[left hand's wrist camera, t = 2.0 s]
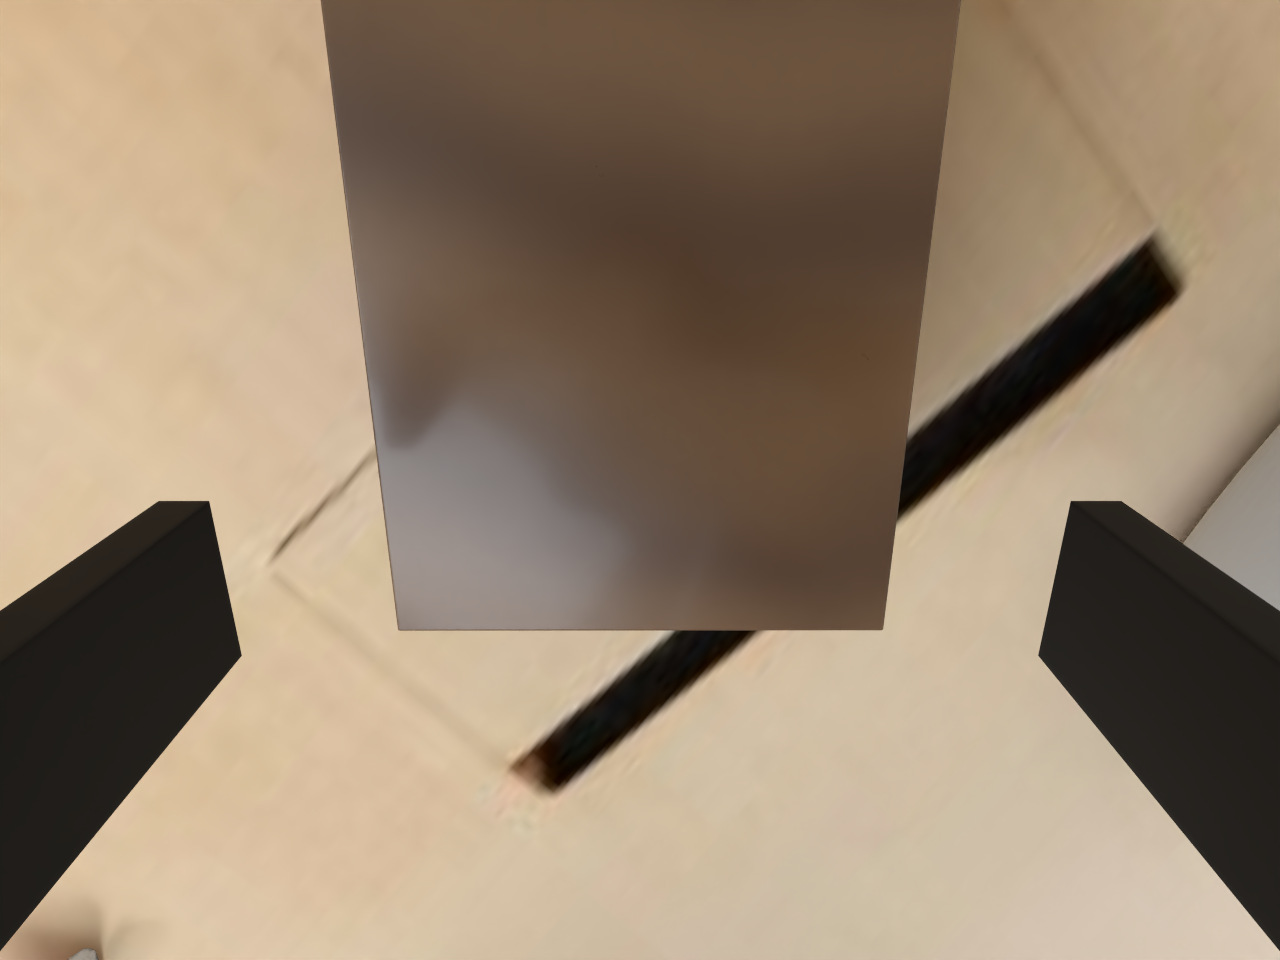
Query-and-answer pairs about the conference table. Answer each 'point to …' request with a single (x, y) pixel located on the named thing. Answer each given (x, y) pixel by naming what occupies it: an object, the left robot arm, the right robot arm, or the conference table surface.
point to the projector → (1247, 525)
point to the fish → (85, 955)
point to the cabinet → (640, 300)
